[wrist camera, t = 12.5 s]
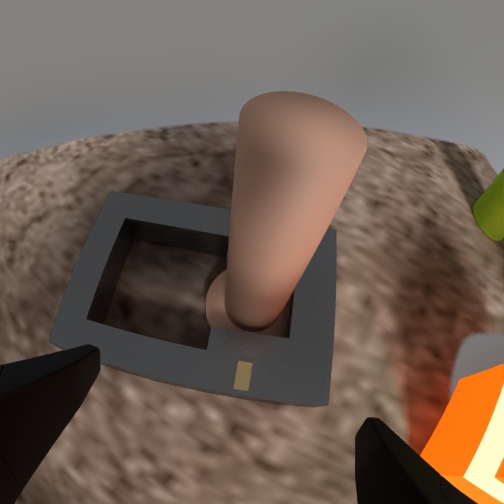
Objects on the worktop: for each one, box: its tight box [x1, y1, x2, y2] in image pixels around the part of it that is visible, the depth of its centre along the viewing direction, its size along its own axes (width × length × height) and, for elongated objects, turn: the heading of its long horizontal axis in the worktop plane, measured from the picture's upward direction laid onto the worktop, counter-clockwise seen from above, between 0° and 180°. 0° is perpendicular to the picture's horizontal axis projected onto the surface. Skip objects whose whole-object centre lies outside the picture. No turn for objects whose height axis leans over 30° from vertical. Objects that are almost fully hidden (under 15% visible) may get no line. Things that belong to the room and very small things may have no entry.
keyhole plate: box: [48, 191, 336, 407], centre depth 19 cm, size 17×12×3 cm
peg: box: [206, 91, 367, 338], centre depth 14 cm, size 6×6×15 cm
